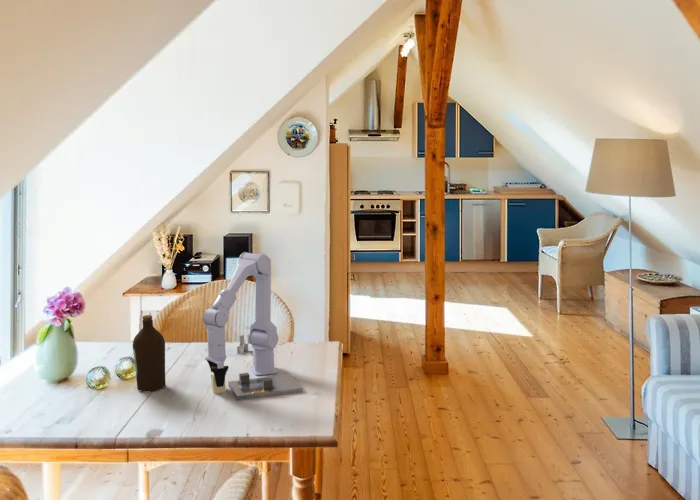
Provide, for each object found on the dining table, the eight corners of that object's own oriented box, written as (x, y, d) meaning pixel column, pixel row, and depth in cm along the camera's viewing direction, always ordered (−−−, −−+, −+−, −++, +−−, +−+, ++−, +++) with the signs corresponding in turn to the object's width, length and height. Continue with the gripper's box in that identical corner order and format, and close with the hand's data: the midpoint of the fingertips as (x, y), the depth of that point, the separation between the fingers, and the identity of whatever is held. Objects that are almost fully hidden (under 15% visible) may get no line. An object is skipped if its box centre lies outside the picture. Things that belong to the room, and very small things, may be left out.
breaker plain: (239, 381, 257) (239, 373, 257) (248, 380, 258) (247, 372, 258) (240, 383, 255) (240, 375, 254) (249, 382, 256) (249, 374, 255)
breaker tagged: (262, 386, 252) (261, 378, 251) (270, 385, 253) (270, 377, 252) (263, 389, 249) (263, 381, 249) (272, 388, 250) (272, 380, 250)
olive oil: (170, 381, 263) (166, 312, 259) (163, 392, 253) (159, 319, 249) (139, 382, 263) (135, 312, 259) (131, 393, 252) (127, 320, 248)
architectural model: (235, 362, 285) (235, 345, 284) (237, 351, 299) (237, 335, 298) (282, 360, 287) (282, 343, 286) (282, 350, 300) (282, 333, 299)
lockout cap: (210, 389, 255) (209, 371, 254) (224, 387, 256) (223, 370, 255) (212, 393, 251) (212, 375, 249) (226, 392, 252) (225, 374, 251)
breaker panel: (228, 385, 258) (228, 381, 258) (290, 378, 265) (290, 373, 265) (237, 400, 244) (236, 395, 244) (302, 391, 251) (302, 387, 251)
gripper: (201, 339, 256) (202, 377, 258) (207, 350, 243) (209, 391, 245) (221, 337, 258) (223, 375, 261) (229, 348, 245) (231, 388, 247)
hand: (218, 382), depth 253 cm, fingers open, 7 cm apart
